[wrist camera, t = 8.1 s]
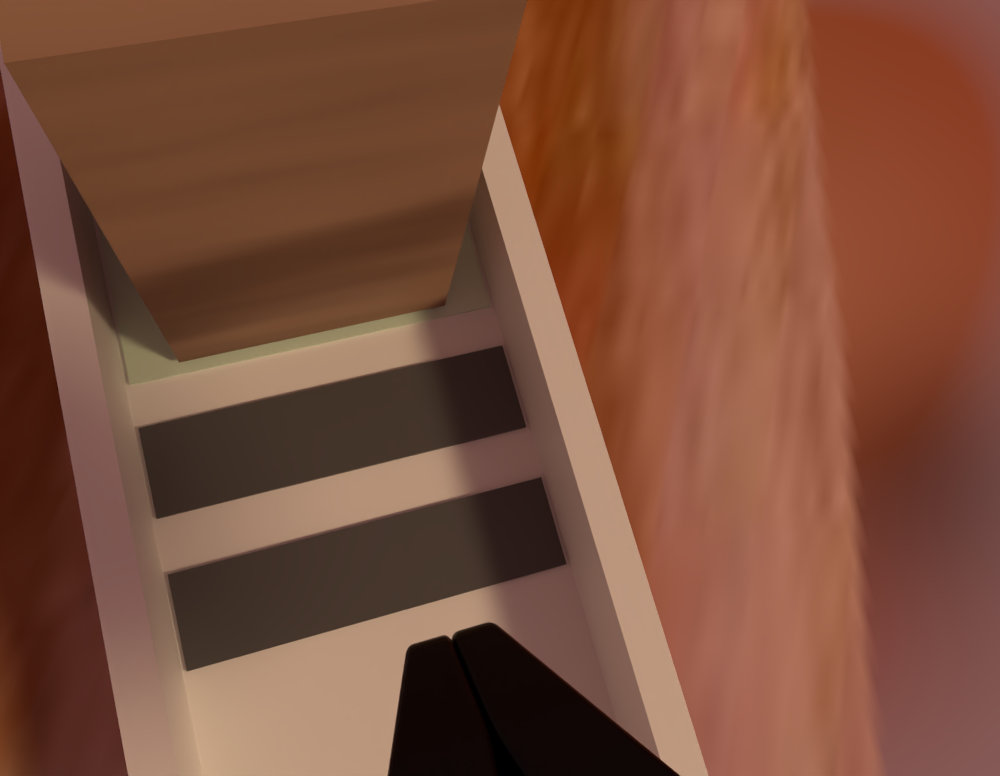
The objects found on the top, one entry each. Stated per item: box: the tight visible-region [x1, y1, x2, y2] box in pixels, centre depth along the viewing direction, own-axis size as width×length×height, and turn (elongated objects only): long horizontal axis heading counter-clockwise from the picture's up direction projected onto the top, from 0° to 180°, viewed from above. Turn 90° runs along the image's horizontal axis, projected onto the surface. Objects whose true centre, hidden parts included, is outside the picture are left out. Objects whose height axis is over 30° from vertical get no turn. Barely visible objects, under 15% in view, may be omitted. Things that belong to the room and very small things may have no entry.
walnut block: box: [0, 0, 527, 363], centre depth 17 cm, size 5×6×11 cm
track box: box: [0, 44, 708, 776], centre depth 20 cm, size 21×10×4 cm, turn 16°
